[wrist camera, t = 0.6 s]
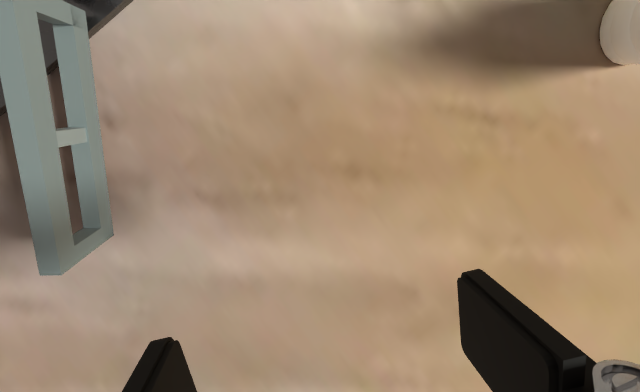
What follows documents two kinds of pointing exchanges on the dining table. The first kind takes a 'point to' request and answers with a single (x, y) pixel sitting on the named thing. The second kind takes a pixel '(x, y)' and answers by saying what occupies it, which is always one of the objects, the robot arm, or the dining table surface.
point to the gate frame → (100, 8)
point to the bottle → (621, 32)
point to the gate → (54, 130)
